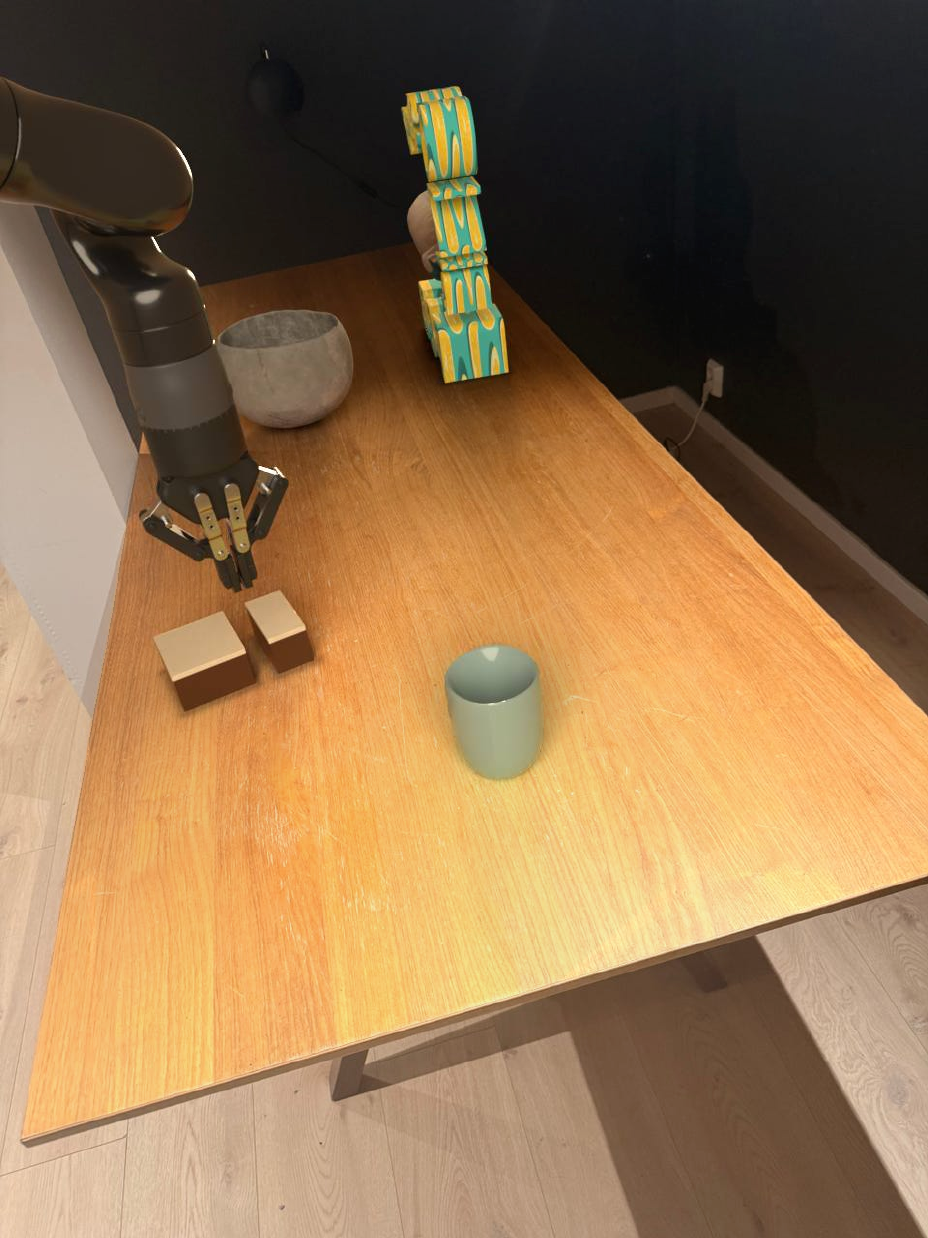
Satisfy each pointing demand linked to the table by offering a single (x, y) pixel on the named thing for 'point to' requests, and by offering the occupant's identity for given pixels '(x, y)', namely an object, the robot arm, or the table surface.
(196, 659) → the cake
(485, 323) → the party decoration
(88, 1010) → the table surface
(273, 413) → the bowl
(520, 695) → the cup
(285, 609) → the slice
